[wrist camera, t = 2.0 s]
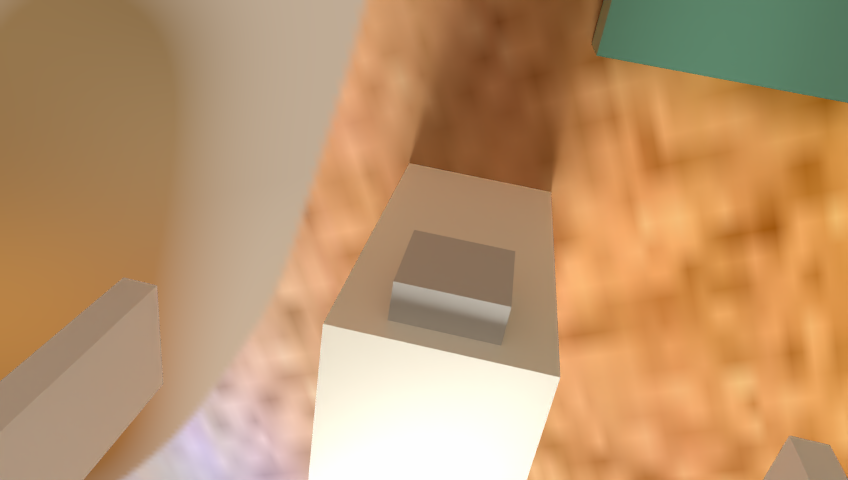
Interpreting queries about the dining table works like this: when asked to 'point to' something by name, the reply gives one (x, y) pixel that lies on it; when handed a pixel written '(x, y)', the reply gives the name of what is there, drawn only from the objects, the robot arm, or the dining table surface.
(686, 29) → the board
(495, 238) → the plug
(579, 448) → the dining table surface
